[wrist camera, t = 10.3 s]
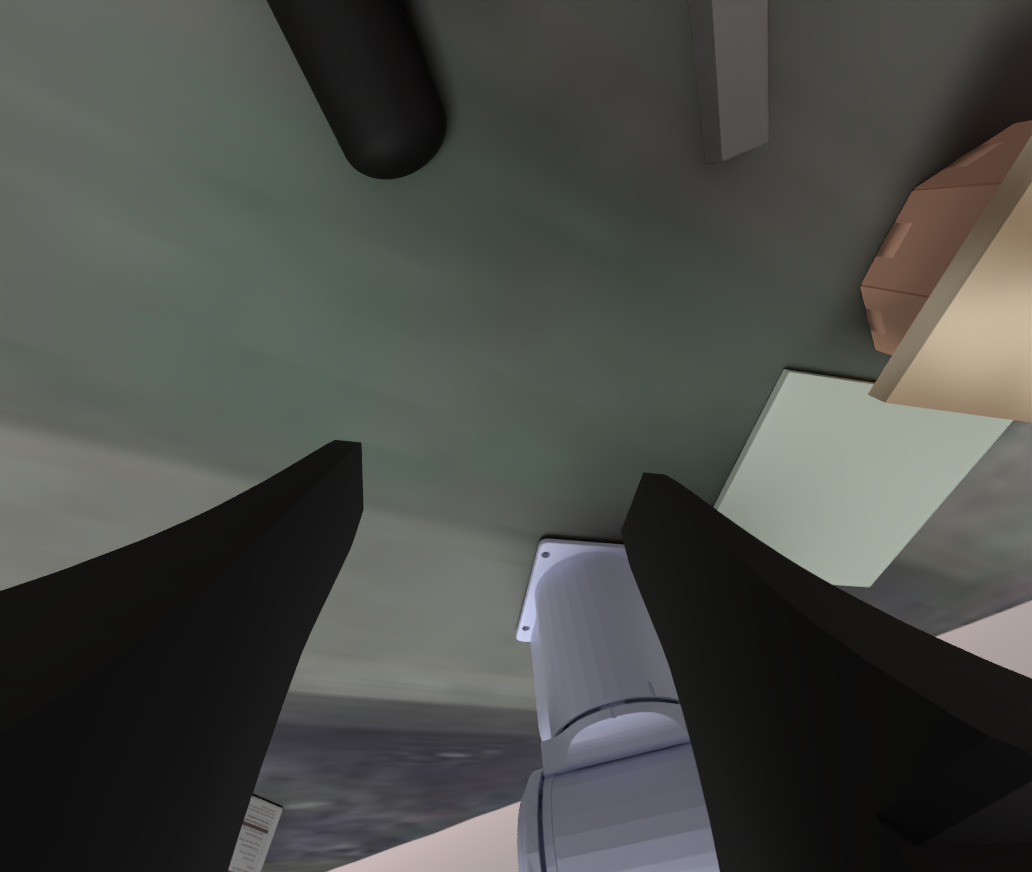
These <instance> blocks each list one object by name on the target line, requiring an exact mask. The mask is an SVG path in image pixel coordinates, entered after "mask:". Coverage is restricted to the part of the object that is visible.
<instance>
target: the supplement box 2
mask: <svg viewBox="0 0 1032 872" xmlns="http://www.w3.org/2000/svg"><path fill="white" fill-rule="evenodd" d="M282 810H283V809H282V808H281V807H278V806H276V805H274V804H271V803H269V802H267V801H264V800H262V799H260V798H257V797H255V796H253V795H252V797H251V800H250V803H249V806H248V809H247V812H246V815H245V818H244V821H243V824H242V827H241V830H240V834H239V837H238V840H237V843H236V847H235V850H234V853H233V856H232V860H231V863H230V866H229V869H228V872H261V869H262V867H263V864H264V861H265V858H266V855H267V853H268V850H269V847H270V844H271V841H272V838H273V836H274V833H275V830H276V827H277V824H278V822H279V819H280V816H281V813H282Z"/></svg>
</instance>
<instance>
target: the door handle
mask: <svg viewBox="0 0 1032 872" xmlns="http://www.w3.org/2000/svg"><path fill="white" fill-rule="evenodd" d="M687 1H688V10H689V19H690V28H691V37H692V46H693V55H694V64H695V73H696V82H697V91H698V101H699V110H700V119H701V128H702V137H703V146H704V155H705V164H708V163H716V162H723V161H725V160H728V159H730V158H732V157H735V156H737V155H739V154H742V153H744V152H746V151H749V150H751V149H753V148H756V147H758V146H760V145H763V144H765V143H767V142H769V102H768V0H687ZM267 2H268V4H269V6H270V8H271V10H272V12H273V14H274V16H275V18H276V20H277V22H278V24H279V26H280V28H281V30H282V32H283V34H284V36H285V38H286V40H287V42H288V44H289V46H290V48H291V50H292V52H293V54H294V56H295V58H296V59H297V61H298V63H299V65H300V67H301V69H302V71H303V73H304V75H305V77H306V79H307V81H308V83H309V85H310V87H311V89H312V91H313V93H314V95H315V97H316V99H317V101H318V103H319V105H320V107H321V109H322V111H323V113H324V115H325V117H326V119H327V121H328V123H329V125H330V127H331V129H332V131H333V133H334V135H335V137H336V139H337V141H338V143H339V145H340V147H341V149H342V151H343V153H344V155H345V157H346V158H347V160H348V161H349V163H350V164H351V165H352V166H353V167H354V168H355V169H356V170H357V171H359V172H360V173H362V174H364V175H366V176H369V177H372V178H377V179H395V178H400V177H404V176H407V175H409V174H411V173H413V172H415V171H417V170H419V169H420V168H422V167H423V166H424V165H426V164H427V163H428V162H429V161H430V160H431V159H432V158H433V157H434V155H435V154H436V153H437V151H438V150H439V148H440V146H441V144H442V142H443V140H444V136H445V132H446V116H445V112H444V109H443V106H442V103H441V101H440V98H439V95H438V92H437V90H436V87H435V84H434V82H433V79H432V76H431V73H430V71H429V68H428V65H427V63H426V60H425V57H424V54H423V52H422V49H421V46H420V44H419V41H418V38H417V36H416V33H415V30H414V27H413V25H412V22H411V19H410V17H409V14H408V11H407V8H406V6H405V3H404V0H267Z"/></svg>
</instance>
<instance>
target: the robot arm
mask: <svg viewBox="0 0 1032 872" xmlns="http://www.w3.org/2000/svg"><path fill="white" fill-rule="evenodd" d="M362 512H363V479H362V447H361V443H360V442H350V441H341V440H334V441H332V442H330V443H328V444H326V445H325V446H323V447H321V448H319V449H318V450H316V451H314V452H313V453H311V454H309V455H308V456H306V457H304V458H303V459H301V460H299V461H298V462H296V463H294V464H293V465H291V466H289V467H288V468H286V469H284V470H282V471H281V472H279V473H277V474H276V475H274V476H272V477H271V478H269V479H267V480H265V481H264V482H262V483H260V484H258V485H256V486H254V487H252V488H250V489H248V490H247V491H245V492H243V493H241V494H239V495H237V496H235V497H233V498H232V499H230V500H228V501H226V502H224V503H222V504H220V505H218V506H216V507H214V508H212V509H210V510H208V511H206V512H204V513H202V514H200V515H198V516H195V517H193V518H191V519H189V520H187V521H185V522H182V523H180V524H178V525H175V526H173V527H171V528H169V529H166V530H164V531H162V532H159V533H157V534H155V535H153V536H150V537H148V538H145V539H143V540H140V541H138V542H135V543H133V544H130V545H127V546H125V547H122V548H119V549H117V550H114V551H112V552H109V553H106V554H104V555H101V556H98V557H96V558H93V559H90V560H88V561H85V562H83V563H80V564H77V565H75V566H72V567H69V568H67V569H64V570H61V571H58V572H55V573H53V574H50V575H47V576H44V577H41V578H38V579H35V580H32V581H29V582H26V583H23V584H20V585H17V586H14V587H11V588H8V589H5V590H2V591H0V872H228V869H229V866H230V863H231V860H232V856H233V853H234V850H235V847H236V843H237V840H238V837H239V834H240V830H241V827H242V824H243V821H244V818H245V815H246V812H247V809H248V806H249V803H250V800H251V797H252V794H253V791H254V788H255V785H256V782H257V779H258V776H259V773H260V769H261V766H262V763H263V760H264V757H265V755H266V752H267V749H268V746H269V743H270V740H271V737H272V734H273V731H274V729H275V726H276V723H277V720H278V717H279V714H280V711H281V708H282V706H283V703H284V700H285V697H286V694H287V692H288V689H289V686H290V684H291V681H292V678H293V675H294V673H295V670H296V667H297V664H298V662H299V659H300V656H301V654H302V651H303V649H304V647H305V644H306V642H307V640H308V637H309V635H310V633H311V630H312V628H313V626H314V624H315V622H316V620H317V618H318V616H319V614H320V612H321V610H322V607H323V605H324V603H325V601H326V599H327V597H328V595H329V593H330V591H331V589H332V587H333V584H334V582H335V580H336V578H337V576H338V574H339V572H340V570H341V568H342V565H343V563H344V561H345V559H346V557H347V555H348V553H349V550H350V548H351V546H352V543H353V540H354V537H355V534H356V531H357V528H358V525H359V522H360V519H361V516H362ZM621 533H622V537H623V542H624V545H622V544H610V543H597V542H584V541H572V540H559V539H543V540H541V541H540V542H539V545H538V549H537V553H536V556H535V560H534V564H533V568H532V572H531V576H530V580H529V584H528V588H527V592H526V596H525V600H524V603H523V607H522V611H521V615H520V619H519V623H518V627H517V631H516V638H517V640H519V641H524V642H530V644H531V654H532V665H533V675H534V685H535V695H536V705H537V716H538V725H539V731H540V736H541V739H542V742H541V750H542V761H543V768H542V769H538V770H535V771H534V772H533V773H532V774H531V775H530V777H529V780H528V783H527V786H526V789H525V792H524V794H523V796H522V799H521V803H520V809H519V816H518V834H517V835H518V837H517V845H518V867H519V872H1032V679H1031V678H1029V677H1026V676H1024V675H1021V674H1019V673H1017V672H1014V671H1012V670H1009V669H1007V668H1004V667H1002V666H999V665H997V664H994V663H992V662H990V661H988V660H985V659H983V658H981V657H978V656H976V655H974V654H972V653H970V652H967V651H965V650H963V649H961V648H958V647H956V646H954V645H951V644H949V643H947V642H945V641H943V640H941V639H938V638H936V637H934V636H932V635H930V634H928V633H925V632H923V631H921V630H919V629H917V628H915V627H913V626H911V625H909V624H907V623H904V622H902V621H900V620H898V619H896V618H894V617H893V616H891V615H889V614H887V613H885V612H883V611H881V610H879V609H877V608H875V607H873V606H871V605H869V604H867V603H865V602H863V601H861V600H859V599H857V598H856V597H854V596H852V595H850V594H848V593H846V592H844V591H843V590H841V589H839V588H837V587H835V586H834V585H832V584H830V583H828V582H827V581H825V580H823V579H822V578H820V577H818V576H816V575H815V574H813V573H811V572H810V571H808V570H806V569H804V568H803V567H801V566H799V565H798V564H796V563H794V562H793V561H791V560H790V559H788V558H786V557H785V556H783V555H782V554H780V553H779V552H777V551H776V550H774V549H773V548H771V547H770V546H768V545H766V544H765V543H763V542H762V541H760V540H759V539H757V538H756V537H754V536H753V535H752V534H750V533H749V532H747V531H746V530H744V529H743V528H741V527H740V526H739V525H737V524H736V523H734V522H733V521H731V520H730V519H729V518H727V517H726V516H724V515H723V514H722V513H720V512H719V511H718V510H716V509H715V508H713V507H712V506H711V505H709V504H708V503H706V502H705V501H704V500H702V499H701V498H700V497H698V496H697V495H695V494H694V493H693V492H691V491H690V490H688V489H687V488H685V487H684V486H683V485H681V484H680V483H678V482H676V481H675V480H673V479H672V478H670V477H668V476H666V475H663V474H653V473H644V472H643V475H642V478H641V480H640V483H639V485H638V488H637V491H636V493H635V496H634V499H633V501H632V504H631V506H630V509H629V512H628V514H627V517H626V519H625V522H624V525H623V527H622V530H621ZM544 552H547V553H544Z"/></svg>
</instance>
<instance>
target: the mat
mask: <svg viewBox="0 0 1032 872" xmlns="http://www.w3.org/2000/svg"><path fill="white" fill-rule="evenodd" d="M873 385H874V382H867V381H861V380H854V379H847V378H841V377H834V376H827V375H821V374H814V373H807V372H801V371H794V370H787V369H784V370H783V372H782V374H781V376H780V378H779V380H778V381H777V383H776V385H775V387H774V389H773V391H772V393H771V395H770V397H769V399H768V401H767V403H766V405H765V407H764V409H763V411H762V413H761V415H760V417H759V419H758V421H757V423H756V425H755V426H754V428H753V430H752V432H751V434H750V436H749V438H748V440H747V442H746V444H745V446H744V448H743V450H742V452H741V454H740V456H739V458H738V460H737V462H736V464H735V466H734V468H733V469H732V471H731V473H730V475H729V477H728V479H727V481H726V483H725V485H724V487H723V489H722V491H721V493H720V495H719V497H718V499H717V501H716V503H715V505H714V507H713V508H715V509H716V510H718V511H719V512H720V513H722V514H723V515H724V516H726V517H727V518H729V519H730V520H731V521H733V522H734V523H736V524H737V525H739V526H740V527H741V528H743V529H744V530H746V531H747V532H749V533H750V534H752V535H753V536H754V537H756V538H757V539H759V540H760V541H762V542H763V543H765V544H766V545H768V546H770V547H771V548H773V549H774V550H776V551H777V552H779V553H780V554H782V555H783V556H785V557H786V558H788V559H790V560H791V561H793V562H794V563H796V564H798V565H799V566H801V567H803V568H804V569H806V570H808V571H810V572H811V573H813V574H815V575H816V576H818V577H820V578H822V579H823V580H825V581H827V582H828V583H830V584H832V585H844V586H858V587H870V586H871V585H872V584H873V583H874V581H875V580H876V579H877V578H878V577H879V576H880V575H881V573H882V572H883V571H884V570H885V569H886V568H887V566H888V565H889V564H890V563H891V562H892V561H893V559H894V558H895V557H896V556H897V555H898V554H899V552H900V551H901V550H902V549H903V548H904V547H905V545H906V544H907V543H908V542H909V541H910V540H911V538H912V537H913V536H914V535H915V534H916V533H917V532H918V530H919V529H920V528H921V527H922V526H923V525H924V523H925V522H926V521H927V520H928V519H929V518H930V516H931V515H932V514H933V513H934V512H935V511H936V509H937V508H938V507H939V506H940V505H941V504H942V502H943V501H944V500H945V499H946V498H947V497H948V496H949V494H950V493H951V492H952V491H953V490H954V489H955V487H956V486H957V485H958V484H959V483H960V482H961V480H962V479H963V478H964V477H965V476H966V475H967V473H968V472H969V471H970V470H971V469H972V468H973V466H974V465H975V464H976V463H977V462H978V461H979V460H980V458H981V457H982V456H983V455H984V454H985V453H986V451H987V450H988V449H989V448H990V447H991V446H992V444H993V443H994V442H995V441H996V440H997V439H998V437H999V436H1000V435H1001V434H1002V433H1003V432H1004V430H1005V429H1006V428H1007V427H1008V426H1009V425H1010V424H1011V422H1012V421H1013V420H1008V419H1001V418H994V417H986V416H979V415H972V414H964V413H957V412H949V411H942V410H935V409H927V408H920V407H913V406H905V405H898V404H890V403H885V402H882V401H880V400H878V399H876V398H874V397H871V396H869V395H868V393H869V391H870V390H871V388H872V387H873Z"/></svg>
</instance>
